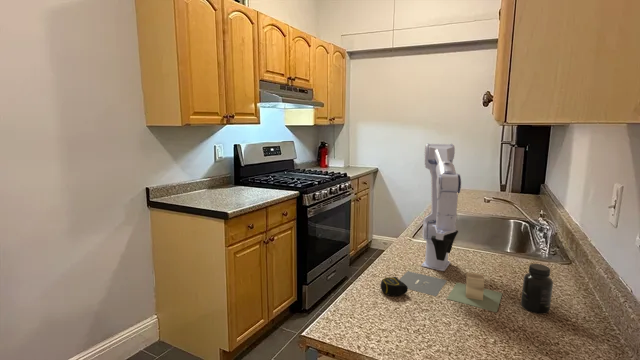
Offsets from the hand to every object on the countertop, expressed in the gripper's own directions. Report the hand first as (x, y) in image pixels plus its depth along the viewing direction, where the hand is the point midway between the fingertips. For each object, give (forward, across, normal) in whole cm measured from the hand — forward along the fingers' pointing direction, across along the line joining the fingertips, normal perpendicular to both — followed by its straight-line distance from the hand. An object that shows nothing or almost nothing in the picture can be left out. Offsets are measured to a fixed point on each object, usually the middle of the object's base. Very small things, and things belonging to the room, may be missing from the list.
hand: (443, 256), depth 110 cm
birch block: (+9, +3, +10) cm, 14 cm away
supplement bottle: (+10, +1, +25) cm, 27 cm away
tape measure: (+10, +13, -11) cm, 20 cm away
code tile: (+9, +3, -6) cm, 11 cm away
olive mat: (+9, +3, +10) cm, 14 cm away
